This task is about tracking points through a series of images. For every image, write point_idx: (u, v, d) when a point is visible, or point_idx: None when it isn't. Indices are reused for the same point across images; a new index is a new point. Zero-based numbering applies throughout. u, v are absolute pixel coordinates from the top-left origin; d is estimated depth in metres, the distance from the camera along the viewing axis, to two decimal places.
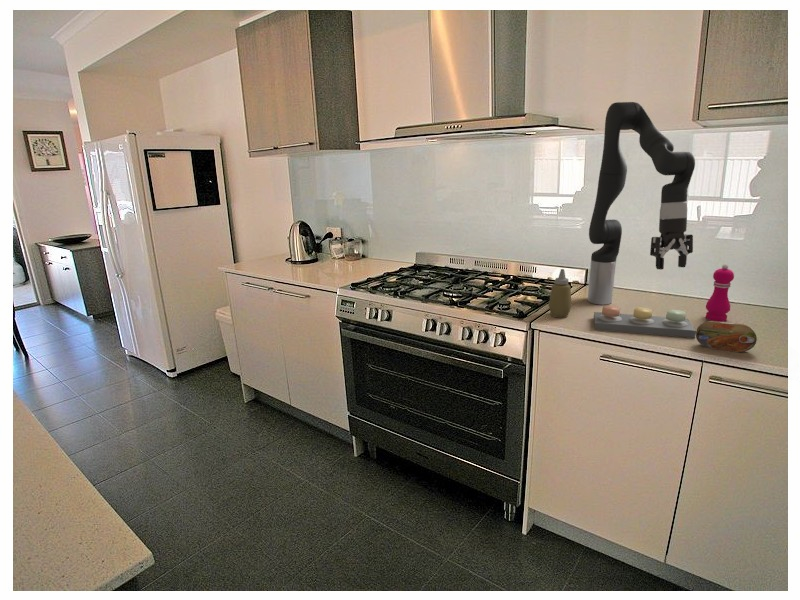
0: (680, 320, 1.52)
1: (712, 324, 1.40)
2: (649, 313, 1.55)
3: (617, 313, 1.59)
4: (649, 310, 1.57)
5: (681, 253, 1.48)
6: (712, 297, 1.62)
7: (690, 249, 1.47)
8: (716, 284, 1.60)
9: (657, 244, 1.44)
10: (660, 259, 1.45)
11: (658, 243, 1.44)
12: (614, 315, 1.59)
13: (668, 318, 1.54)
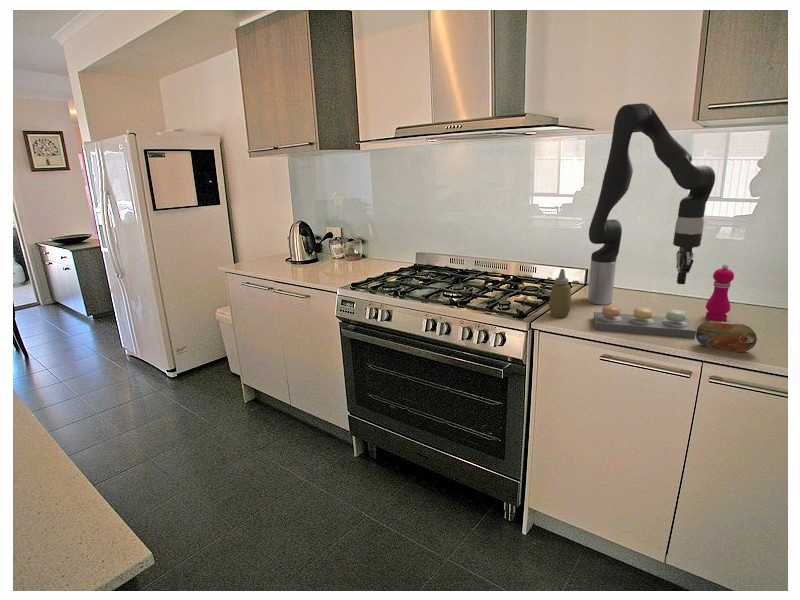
0: (680, 320, 1.52)
1: (712, 324, 1.40)
2: (649, 313, 1.55)
3: (617, 313, 1.59)
4: (649, 310, 1.57)
5: None
6: (712, 297, 1.62)
7: None
8: (716, 284, 1.60)
9: (691, 265, 1.44)
10: (685, 274, 1.49)
11: None
12: (614, 315, 1.59)
13: (668, 318, 1.54)
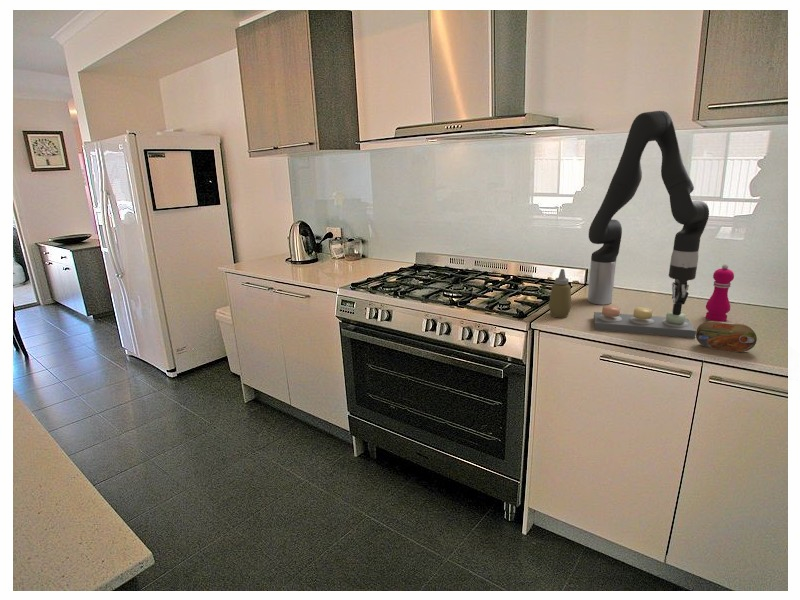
0: (680, 322, 1.52)
1: (712, 324, 1.40)
2: (649, 313, 1.55)
3: (617, 313, 1.59)
4: (649, 310, 1.57)
5: None
6: (712, 297, 1.62)
7: None
8: (716, 284, 1.60)
9: (686, 298, 1.47)
10: (680, 306, 1.52)
11: None
12: (614, 315, 1.59)
13: (667, 320, 1.54)
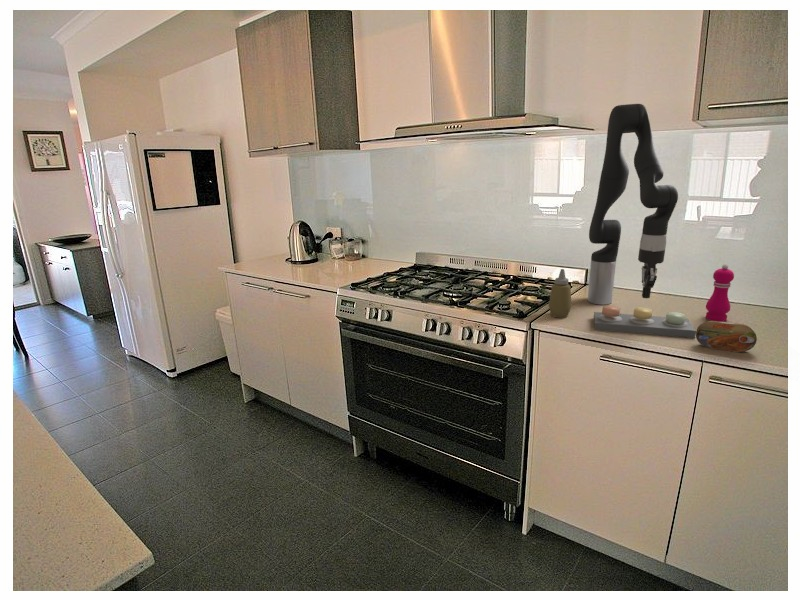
0: (680, 322, 1.52)
1: (712, 324, 1.40)
2: (649, 313, 1.55)
3: (617, 313, 1.59)
4: (649, 310, 1.57)
5: None
6: (712, 297, 1.62)
7: None
8: (716, 284, 1.60)
9: None
10: (649, 289, 1.54)
11: None
12: (614, 315, 1.59)
13: (667, 320, 1.54)
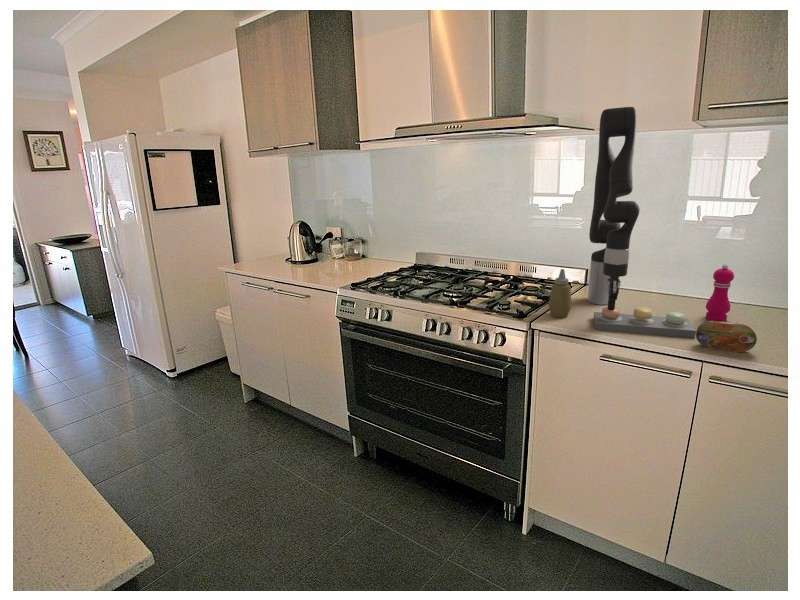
0: (680, 322, 1.52)
1: (712, 324, 1.40)
2: (649, 313, 1.55)
3: (617, 315, 1.59)
4: (649, 310, 1.57)
5: None
6: (712, 297, 1.62)
7: None
8: (716, 284, 1.60)
9: (617, 293, 1.54)
10: (614, 301, 1.59)
11: (618, 292, 1.54)
12: (614, 317, 1.59)
13: (667, 320, 1.54)
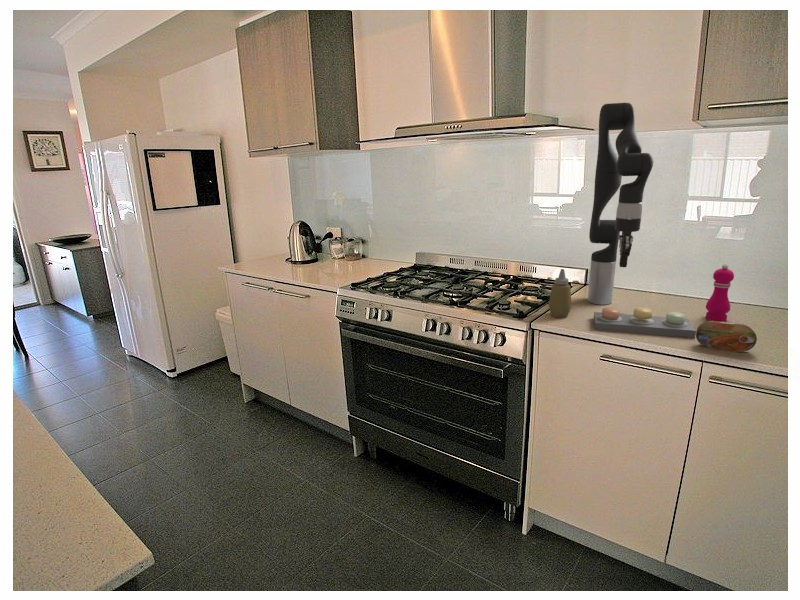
0: (680, 322, 1.52)
1: (712, 324, 1.40)
2: (649, 313, 1.55)
3: (617, 315, 1.59)
4: (649, 310, 1.57)
5: None
6: (712, 297, 1.62)
7: None
8: (716, 284, 1.60)
9: (630, 249, 1.51)
10: (626, 258, 1.56)
11: (630, 247, 1.51)
12: (614, 318, 1.59)
13: (667, 320, 1.54)
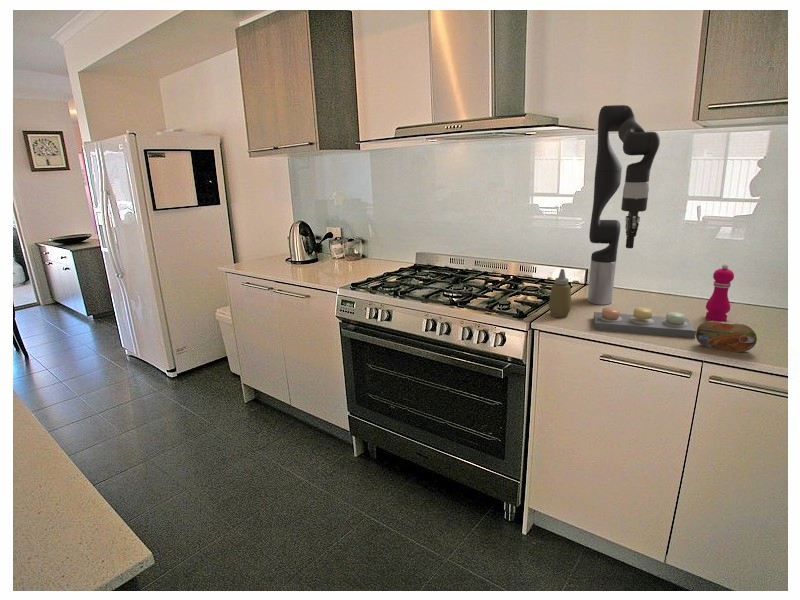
0: (680, 322, 1.52)
1: (712, 324, 1.40)
2: (649, 313, 1.55)
3: (617, 315, 1.59)
4: (649, 310, 1.57)
5: None
6: (712, 297, 1.62)
7: None
8: (716, 284, 1.60)
9: (637, 229, 1.50)
10: (633, 239, 1.55)
11: None
12: (614, 318, 1.59)
13: (667, 320, 1.54)
